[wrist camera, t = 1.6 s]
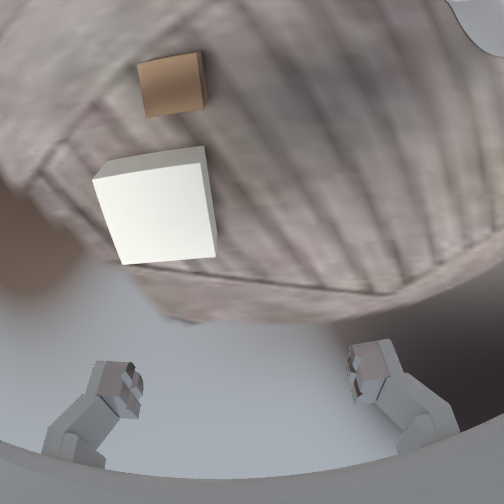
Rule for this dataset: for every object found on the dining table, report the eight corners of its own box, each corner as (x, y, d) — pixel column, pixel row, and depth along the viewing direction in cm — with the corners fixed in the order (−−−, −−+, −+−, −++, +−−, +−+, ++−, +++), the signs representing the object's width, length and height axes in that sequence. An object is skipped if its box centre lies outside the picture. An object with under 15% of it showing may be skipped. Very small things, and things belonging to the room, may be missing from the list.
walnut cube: (151, 59, 25) (136, 64, 21) (202, 50, 25) (196, 53, 21) (158, 105, 28) (146, 118, 25) (207, 98, 28) (203, 109, 25)
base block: (108, 159, 32) (92, 179, 28) (204, 144, 32) (200, 162, 28) (132, 238, 39) (122, 264, 35) (217, 230, 39) (215, 256, 35)
